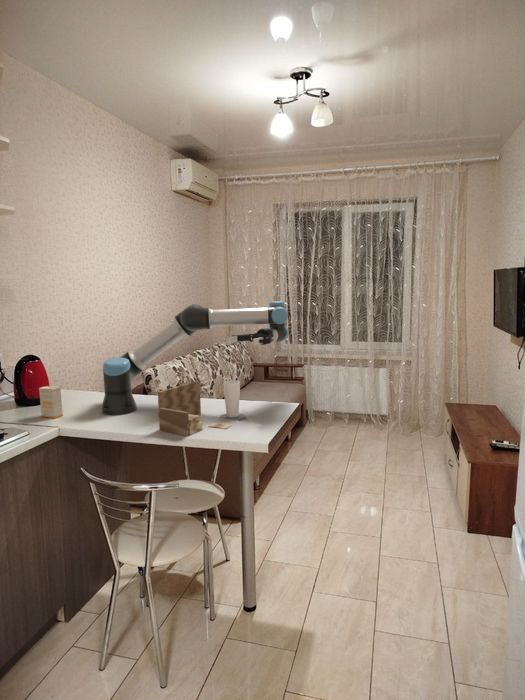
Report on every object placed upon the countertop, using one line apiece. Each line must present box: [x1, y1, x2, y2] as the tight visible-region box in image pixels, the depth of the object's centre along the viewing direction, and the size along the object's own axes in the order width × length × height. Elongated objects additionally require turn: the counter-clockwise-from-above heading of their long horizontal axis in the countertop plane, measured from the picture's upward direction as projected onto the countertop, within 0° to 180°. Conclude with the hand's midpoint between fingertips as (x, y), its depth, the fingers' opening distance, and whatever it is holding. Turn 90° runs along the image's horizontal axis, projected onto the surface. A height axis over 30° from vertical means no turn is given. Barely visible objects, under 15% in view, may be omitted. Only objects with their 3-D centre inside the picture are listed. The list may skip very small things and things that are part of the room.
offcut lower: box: [189, 421, 203, 436], centre depth 181 cm, size 7×6×3 cm
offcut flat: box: [208, 422, 232, 430], centre depth 186 cm, size 8×4×2 cm, turn 67°
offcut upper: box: [188, 414, 201, 426], centre depth 180 cm, size 6×5×2 cm
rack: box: [157, 380, 204, 437], centre depth 188 cm, size 24×15×16 cm, turn 148°
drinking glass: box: [223, 379, 241, 418], centre depth 201 cm, size 7×7×15 cm
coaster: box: [218, 412, 246, 422], centre depth 202 cm, size 11×11×1 cm
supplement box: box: [38, 385, 64, 419], centre depth 208 cm, size 8×5×13 cm, turn 65°
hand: (240, 341), depth 203 cm, fingers open, 13 cm apart
